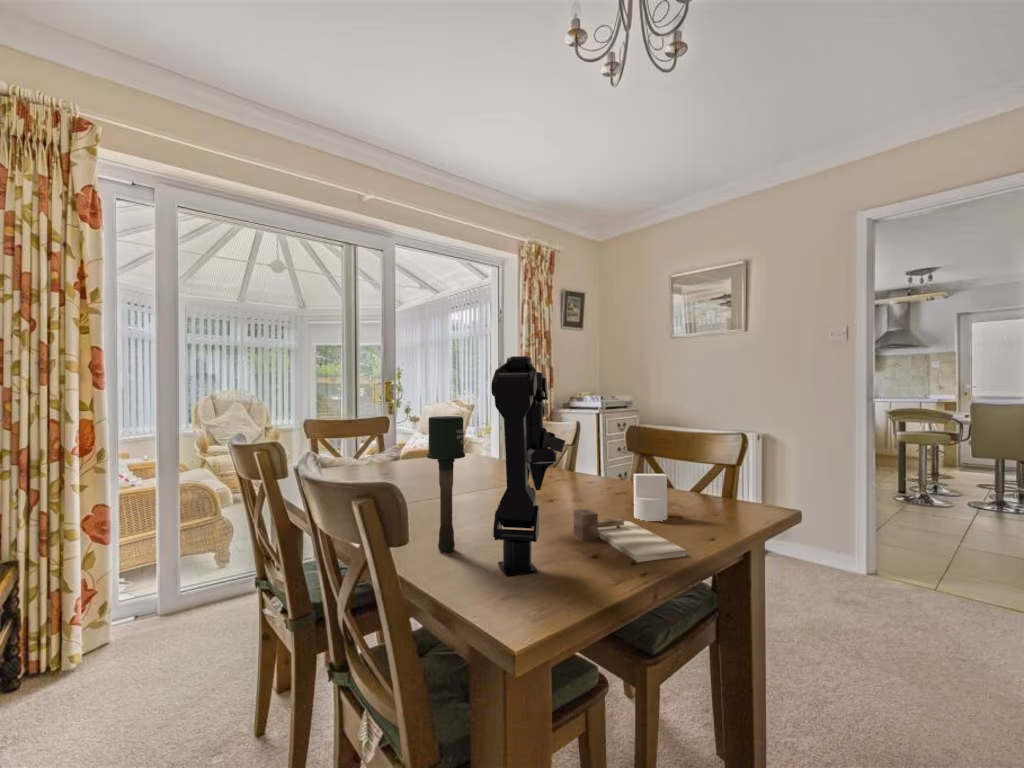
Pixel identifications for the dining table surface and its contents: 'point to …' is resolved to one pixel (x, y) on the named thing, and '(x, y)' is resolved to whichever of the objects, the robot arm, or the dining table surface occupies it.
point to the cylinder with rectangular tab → (650, 497)
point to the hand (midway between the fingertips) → (531, 486)
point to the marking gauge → (591, 524)
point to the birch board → (639, 542)
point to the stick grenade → (446, 469)
